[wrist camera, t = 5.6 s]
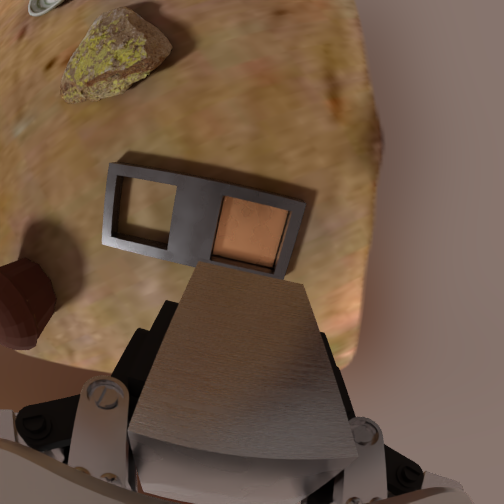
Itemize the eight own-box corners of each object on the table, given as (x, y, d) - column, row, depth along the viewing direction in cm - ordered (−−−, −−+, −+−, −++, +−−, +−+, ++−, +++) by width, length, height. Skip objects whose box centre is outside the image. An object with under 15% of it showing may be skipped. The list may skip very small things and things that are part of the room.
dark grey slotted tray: (116, 162, 23) (109, 162, 21) (303, 200, 24) (306, 203, 23) (108, 239, 25) (102, 244, 24) (279, 279, 27) (281, 286, 25)
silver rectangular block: (198, 261, 11) (127, 430, 4) (303, 284, 12) (358, 456, 4) (185, 342, 13) (143, 491, 5) (273, 360, 13) (286, 509, 6)
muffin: (50, 248, 26) (-5, 284, 16) (74, 326, 30) (37, 374, 20) (1, 251, 26) (-44, 280, 17) (23, 318, 30) (-12, 354, 20)
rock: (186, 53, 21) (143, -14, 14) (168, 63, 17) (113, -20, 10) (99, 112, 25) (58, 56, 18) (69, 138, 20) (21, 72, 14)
